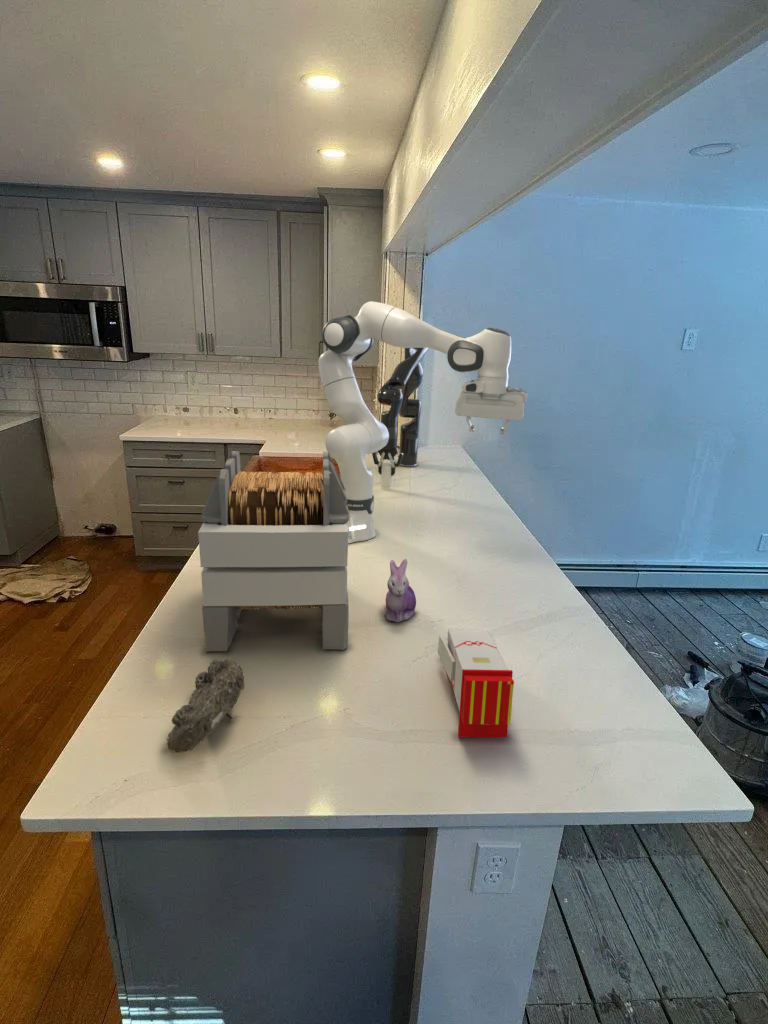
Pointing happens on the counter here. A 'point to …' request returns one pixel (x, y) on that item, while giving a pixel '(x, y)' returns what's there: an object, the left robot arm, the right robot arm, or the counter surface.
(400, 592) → the figurine
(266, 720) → the counter surface
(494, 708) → the toy
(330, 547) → the grey record crate
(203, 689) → the fossil
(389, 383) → the right robot arm
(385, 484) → the canister
